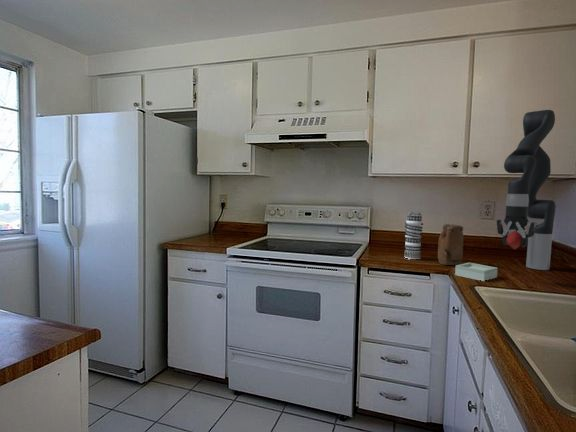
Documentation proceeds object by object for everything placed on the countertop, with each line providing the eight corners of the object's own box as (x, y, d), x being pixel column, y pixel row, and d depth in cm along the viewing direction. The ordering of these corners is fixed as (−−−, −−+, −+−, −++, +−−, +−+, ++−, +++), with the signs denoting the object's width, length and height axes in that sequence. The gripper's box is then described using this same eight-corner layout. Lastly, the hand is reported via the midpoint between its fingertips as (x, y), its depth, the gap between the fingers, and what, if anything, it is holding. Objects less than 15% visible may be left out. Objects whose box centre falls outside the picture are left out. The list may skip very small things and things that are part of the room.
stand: (468, 271, 156) (469, 262, 156) (496, 277, 147) (497, 267, 146) (455, 274, 149) (455, 265, 149) (483, 281, 140) (484, 271, 139)
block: (452, 262, 176) (454, 223, 174) (463, 265, 169) (466, 225, 167) (434, 263, 173) (437, 224, 171) (445, 266, 166) (448, 225, 164)
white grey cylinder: (409, 255, 191) (412, 211, 189) (424, 258, 183) (427, 212, 181) (399, 257, 185) (401, 211, 183) (414, 260, 178) (417, 213, 176)
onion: (503, 248, 141) (504, 229, 140) (509, 247, 144) (510, 228, 143) (519, 251, 136) (520, 231, 135) (525, 249, 139) (526, 230, 139)
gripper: (541, 205, 135) (538, 247, 137) (501, 204, 147) (499, 242, 148) (534, 206, 131) (531, 249, 132) (493, 204, 142) (491, 244, 144)
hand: (514, 245), depth 140 cm, fingers closed on onion, 6 cm apart
